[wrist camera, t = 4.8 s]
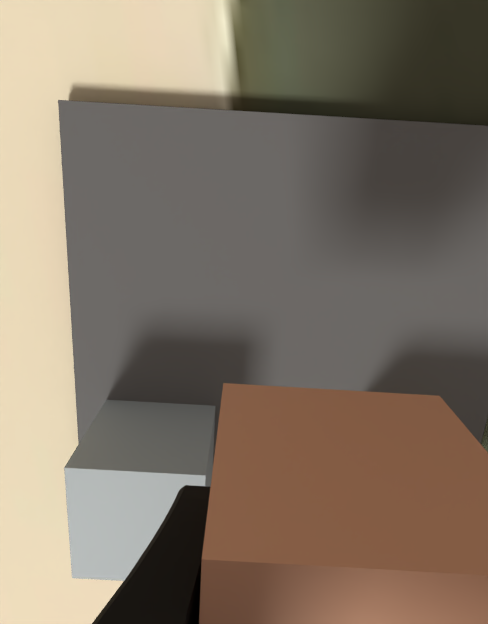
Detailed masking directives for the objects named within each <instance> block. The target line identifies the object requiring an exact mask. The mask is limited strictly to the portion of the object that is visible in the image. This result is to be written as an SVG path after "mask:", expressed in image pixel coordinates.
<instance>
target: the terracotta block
mask: <svg viewBox="0 0 488 624" xmlns="http://www.w3.org/2000/svg"><path fill="white" fill-rule="evenodd" d="M199 624H488V452H487V451H486V450H485V449H484V448H483V446H482V445H481V444H480V443H479V442H478V440H477V439H476V438H475V437H474V436H473V435H472V433H471V432H470V431H469V430H468V429H467V427H466V426H465V425H464V424H463V423H462V422H461V420H460V419H459V418H458V417H457V416H456V415H455V413H454V412H453V411H452V410H451V409H450V407H449V406H448V405H447V404H446V403H445V402H444V400H443V399H442V398H441V397H440V396H436V395H418V394H401V393H384V392H367V391H350V390H333V389H316V388H299V387H281V386H264V385H247V384H230V383H223V390H222V398H221V406H220V414H219V422H218V430H217V438H216V447H215V455H214V463H213V471H212V479H211V487H210V495H209V504H208V512H207V520H206V528H205V536H204V544H203V552H202V563H201V588H200V614H199Z"/></svg>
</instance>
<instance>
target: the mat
mask: <svg viewBox="0 0 488 624" xmlns="http://www.w3.org/2000/svg"><path fill="white" fill-rule="evenodd" d="M58 104H59V121H60V138H61V154H62V171H63V188H64V205H65V222H66V239H67V255H68V272H69V289H70V306H71V323H72V339H73V356H74V373H75V390H76V407H77V424H78V440H79V443H80V442H81V440H82V438H83V437H84V435H85V433H86V432H87V430H88V429H89V427H90V425H91V424H92V422H93V421H94V419H95V417H96V416H97V414H98V412H99V411H100V409H101V408H102V406H103V404H104V403H105V401H106V400H120V401H138V402H156V403H174V404H192V405H211V406H215V428H214V452H213V463H214V455H215V447H216V438H217V430H218V422H219V414H220V406H221V398H222V390H223V383H230V384H247V385H264V386H281V387H299V388H316V389H333V390H350V391H367V392H384V393H401V394H418V395H436V396H440V397H441V398H442V399H443V400H444V402H445V403H446V404H447V405H448V406H449V407H450V409H451V410H452V411H453V412H454V413H455V415H456V416H457V417H458V418H459V419H460V420H461V422H462V423H463V424H464V425H465V426H466V427H467V429H468V430H469V431H470V432H471V433H472V435H473V436H474V437H475V438H476V439H477V440H478V442H479V443H480V444H481V441H482V437H483V433H484V429H485V425H486V421H487V417H488V126H483V125H466V124H450V123H433V122H416V121H400V120H383V119H366V118H350V117H333V116H316V115H300V114H283V113H266V112H250V111H233V110H216V109H200V108H183V107H166V106H150V105H133V104H116V103H100V102H83V101H66V100H58Z"/></svg>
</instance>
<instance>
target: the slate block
mask: <svg viewBox="0 0 488 624" xmlns="http://www.w3.org/2000/svg"><path fill="white" fill-rule="evenodd" d="M214 428H215V406H211V405H192V404H174V403H156V402H138V401H120V400H106V401H105V403H104V404H103V406H102V408H101V409H100V411H99V412H98V414H97V416H96V417H95V419H94V421H93V422H92V424H91V425H90V427H89V429H88V430H87V432H86V433H85V435H84V437H83V438H82V440H81V442H80V443H79V445H78V446H77V448H76V450H75V451H74V453H73V455H72V456H71V458H70V459H69V461H68V463H67V464H66V466H65V468H64V470H65V484H66V498H67V512H68V526H69V540H70V554H71V568H72V578H81V579H100V580H119V581H124V580H125V579H126V578H127V576H128V575H129V573H130V572H131V570H132V569H133V567H134V566H135V564H136V563H137V561H138V560H139V558H140V557H141V555H142V554H143V552H144V551H145V549H146V548H147V546H148V545H149V543H150V542H151V540H152V539H153V537H154V536H155V534H156V532H157V531H158V529H159V527H160V526H161V524H162V522H163V521H164V519H165V517H166V515H167V514H168V512H169V510H170V508H171V506H172V504H173V502H174V500H175V498H176V496H177V494H178V492H179V490H180V489H181V488H182V487H184V486H185V485H191V486H209V487H211V479H212V471H213V452H214Z"/></svg>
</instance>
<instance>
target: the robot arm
mask: <svg viewBox="0 0 488 624" xmlns="http://www.w3.org/2000/svg"><path fill="white" fill-rule="evenodd" d="M209 495H210V487H209V486H191V485H185V486H184V487H182V488H181V489H180V490H179V492H178V494H177V496H176V498H175V500H174V502H173V504H172V506H171V508H170V510H169V512H168V514H167V515H166V517H165V519H164V521H163V522H162V524H161V526H160V527H159V529H158V531H157V532H156V534H155V536H154V537H153V539H152V540H151V542H150V543H149V545H148V546H147V548H146V549H145V551H144V552H143V554H142V555H141V557H140V558H139V560H138V561H137V563H136V564H135V566H134V567H133V569H132V570H131V572H130V573H129V575H128V576H127V578H126V579H125V580H124V582H123V583H122V585H121V586H120V587H119V589H118V590H117V591H116V593H115V594H114V595H113V597H112V598H111V599H110V601H109V602H108V603H107V605H106V606H105V607H104V609H103V610H102V611H101V613H100V614H99V615H98V617H97V618H96V619H95V621H94V622H93V623H92V624H199V614H200V588H201V563H202V552H203V544H204V536H205V528H206V520H207V512H208V504H209Z"/></svg>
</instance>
